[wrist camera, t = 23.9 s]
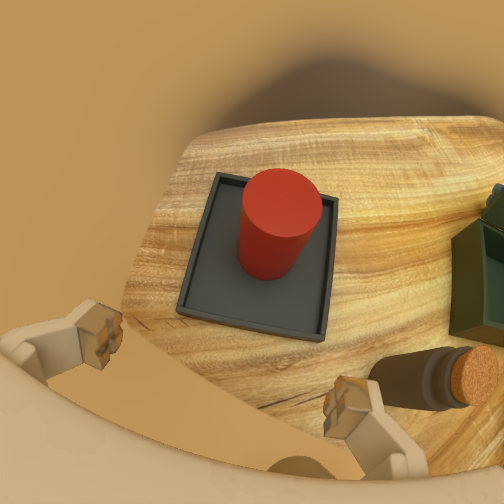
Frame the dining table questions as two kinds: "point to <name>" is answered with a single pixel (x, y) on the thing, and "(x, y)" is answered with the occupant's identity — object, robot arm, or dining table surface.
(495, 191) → the grapes
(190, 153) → the dining table surface
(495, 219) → the chest lid
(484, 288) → the chest
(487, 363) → the bottle
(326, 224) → the tray
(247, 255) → the red cylinder
